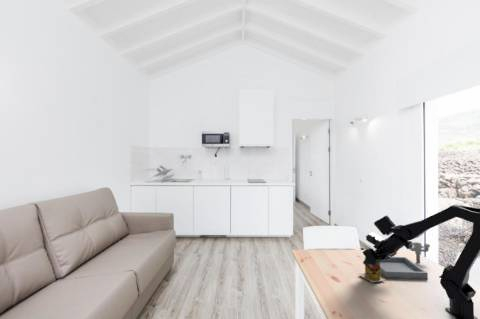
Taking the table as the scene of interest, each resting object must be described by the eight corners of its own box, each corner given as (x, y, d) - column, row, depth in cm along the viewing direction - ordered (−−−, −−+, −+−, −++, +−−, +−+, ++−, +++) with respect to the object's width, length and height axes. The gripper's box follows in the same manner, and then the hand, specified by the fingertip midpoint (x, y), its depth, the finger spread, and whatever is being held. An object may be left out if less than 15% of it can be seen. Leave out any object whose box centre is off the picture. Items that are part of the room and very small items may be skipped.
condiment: (372, 282, 107) (372, 255, 107) (357, 274, 115) (357, 249, 115) (385, 280, 109) (385, 253, 110) (370, 272, 117) (369, 247, 118)
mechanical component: (430, 264, 126) (430, 244, 126) (408, 262, 128) (408, 243, 128) (427, 261, 129) (427, 242, 129) (406, 260, 131) (405, 241, 131)
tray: (427, 279, 111) (427, 272, 111) (385, 278, 113) (385, 271, 113) (405, 262, 129) (405, 257, 129) (369, 261, 130) (369, 256, 130)
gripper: (388, 224, 114) (366, 242, 123) (366, 231, 104) (343, 250, 113) (408, 246, 108) (383, 263, 117) (386, 255, 97) (360, 273, 106)
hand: (367, 261), depth 113 cm, fingers closed on condiment, 6 cm apart
